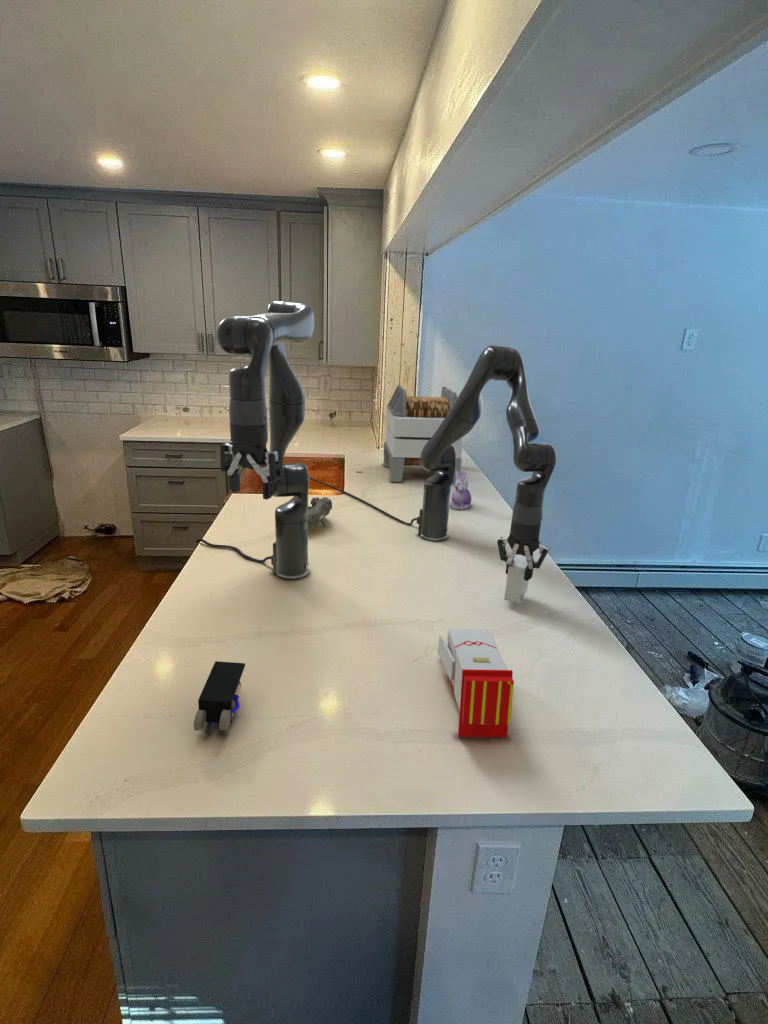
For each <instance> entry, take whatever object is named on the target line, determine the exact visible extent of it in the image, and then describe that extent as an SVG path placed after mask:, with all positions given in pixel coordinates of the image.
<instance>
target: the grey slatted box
mask: <svg viewBox="0 0 768 1024" xmlns="http://www.w3.org/2000/svg"><path fill="white" fill-rule="evenodd" d="M440 393H441V394H440V396H415V395H414V396H413V395H412V396H411V395H407V394H408V393H407V390H406V389H404V388H403V387H402V385H399V384H398V385H397V386H396V388H395V390H394V392H393V394H392V395H391V398H390V400H389V402H388V404H387V405H386V413H385V414H386V415H385V423H386V428H385V438H384V442H383V466H384V467H388V468H389V475H388V476H389V477H388V478H389V480H390V482H391V483H402V482H403V475H404V469H405V466H406V467H407V466H411V467H412V466H413V467H415V466H416V467H417V466H418V467H422V466H421V462H420V456H421V452H422V450H423V448H424V446H425V445H426V443H427V442H428V441H429V440H430V439H431V437H432V436H433V435H434V433H435V432H436V431H437V429H438V428H439V426H440V425H441V423H442V422H443V420H444V419H445V417H446V415H447V413H448V412H449V410H450V408H451V407H452V405H453V403H454V402H455V400H456V399H457V397H458V395H457V392H455V391H453V390H452V389H451V388H447V386H442V387H441V392H440ZM463 438H464V437H462V438H461V439H459V440H458V441H456V442H455V443H453V444H452V445H453V446H454V448H455V451H456V466H455V473H454V480H453V484H455V481H456V471H459V473H460V475H462V473H461V472H462V461H463V460H462V453H463V442H464V441H463V440H462V439H463Z"/></svg>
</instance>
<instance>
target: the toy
mask: <svg viewBox="0 0 768 1024" xmlns="http://www.w3.org/2000/svg"><path fill="white" fill-rule="evenodd" d="M446 640H447V643H446V641H445V639H444V636H443V635H442V634H439V637H438V646H437V656H438V657H439V659H440V661H441V663H442V666H443V668H444V670H445V672H446V674H447V677H448V679H449V681H450V684H451V687H452V690H453V693H454V697H455V701H456V705H457V708H458V711H459V714H458V715H459V716H458V730H457V731H458V732H457V737H458V738H508V731H509V726H510V725H511V717H512V707H513V697H514V696H513V695H514V684H515V680H514V679H513V673H514V671H513V670H512V669H508V667H507V665H506V662H505V661H504V659H503V658H502V655H501V653H500V651H499V649H498V647H497V643H496V639H495V637H494V635H493V634H491V632H490V631H489V629H467V628H466V629H465V628H463V629H461V628H460V629H459V628H448V630H447V639H446Z"/></svg>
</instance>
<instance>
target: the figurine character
mask: <svg viewBox="0 0 768 1024" xmlns="http://www.w3.org/2000/svg"><path fill="white" fill-rule="evenodd" d="M245 667H246V662H232V661H217V660H215V661H214V663H213V665H212V668H211V670H210V672H209V674H208V677H207V678H206V681H205V684H204V686H203V688H202V690H201V692H200V695H199V697H198V700H197V701H198V704H197V705H198V710H196V713H195V716H194V721H193V729H194V731H204V733H205V735H206V736H207V735H208V734H210V732H211V727H212V725H213V724H218V725H219V726H218V727H219V730H220V735H221V736H222V735H224V734H225V733H226V731H228V730H229V728H230V725H232V723H233V716H234V714H235V713H236V712H237V711H238V710H239V709H240V707H241V705H240V702H239V699H240V696H239V695H240V693H241V690H242V683H241V678H242V676H243V673H244V670H245ZM233 702H234V704H235V706H234V707H233ZM206 723H207V724H206ZM205 726H206V727H205ZM204 728H205V730H204Z"/></svg>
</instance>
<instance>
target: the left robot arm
mask: <svg viewBox="0 0 768 1024" xmlns="http://www.w3.org/2000/svg"><path fill="white" fill-rule="evenodd" d="M314 331H315V314H314V310H313V309H312V308H311V306H309V305H307V304H306V303H301V302H293V301H292V302H291V301H282V300H281V301H280V300H273V301H270V302H269V304H268V307H267V312H261V313H258V314H254V315H247V316H243V315H242V316H241V315H240V316H239V315H238V316H237V315H236V316H227V317H225V318H224V319H223V320H221V322H219V324H218V326H217V329H216V340H217V343H218V345H219V347H220V348H221V350H222V351H224V352H225V353H227V354H229V355H237V356H251V359H250V362H249V363H248V365H245V366H238V367H234V368H231V369H230V371H229V373H228V388H229V389H228V390H229V405H228V406H229V409H228V414H229V435H230V436H229V437H230V442H226V443H223V444H220V449H219V450H220V451H219V453H220V455H219V456H220V460H219V461H220V464H219V465H220V471H221V472H223V473H224V472H225V473H227V474H226V475H228V485H229V489H230V492H231V493H237V492H240V491H241V478H240V477H241V476H240V475H241V474H240V472H241V470H242V469H249V470H253V471H255V473H256V474H257V475H259V476H260V478H261V480H262V499H263V500H266V501H267V500H269V499H272V497H274V498H287V497H292V498H291V499H289V500H288V501H286V502H284V503H282V504H280V505H278V506H276V508H275V511H274V533H275V537H274V538H275V541H274V542H273V543H272V554H271V555H269V556H266V557H264V558H263V559H256V558H254V557H251V556H250V555H247V554H245V553H243V552H242V551H241V549H239V548H238V547H236V546H232V545H226V544H215V543H211V542H208V541H207V540H206V539H204V538H198V539H197V540H196V541H195V542H196V543H199V542H202V543H203V544H205V545H207V546H209V547H213V548H221V549H222V548H223V549H231V550H234V551H236V552H237V553H238V554H239V555H240V556H241V557H243V558H245V559H247V560H249V561H252V562H255V563H260V564H261V563H262V564H263V563H265V562H266V561H267V560H270V562H271V563H270V564H271V566H272V569H273V570H272V572H273V574H274V575H276V576H277V577H279V578H281V579H284V580H298V579H302V578H304V577H306V576H307V575H308V574H309V566H310V560H309V532H308V507H309V492H310V491H309V490H310V479H309V477H310V472H309V468H308V466H307V464H305V463H304V462H286V463H283V462H284V457H285V455H286V452H287V450H288V447H289V445H290V443H291V442H292V440H293V439H294V437H295V436H296V435H297V433H298V431H299V430H300V428H301V427H302V425H303V423H304V420H305V417H306V416H305V415H306V394H305V390H304V388H303V386H302V383H301V382H300V380H299V378H298V376H297V375H296V374H295V372H294V370H293V368H292V366H291V364H290V362H289V360H288V357H287V353H286V347H285V343H289V342H291V343H304V342H308V341H310V339H311V338H312V336H313V333H314ZM268 363H269V396H268V406H269V407H267V401H266V373H267V367H268ZM268 412H269V414H268ZM268 415H269V434H268ZM268 435H269V437H268ZM268 438H269V439H268ZM268 440H269V441H270V442H269V450H268V448H267V444H268ZM233 456H234V458H233Z"/></svg>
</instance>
